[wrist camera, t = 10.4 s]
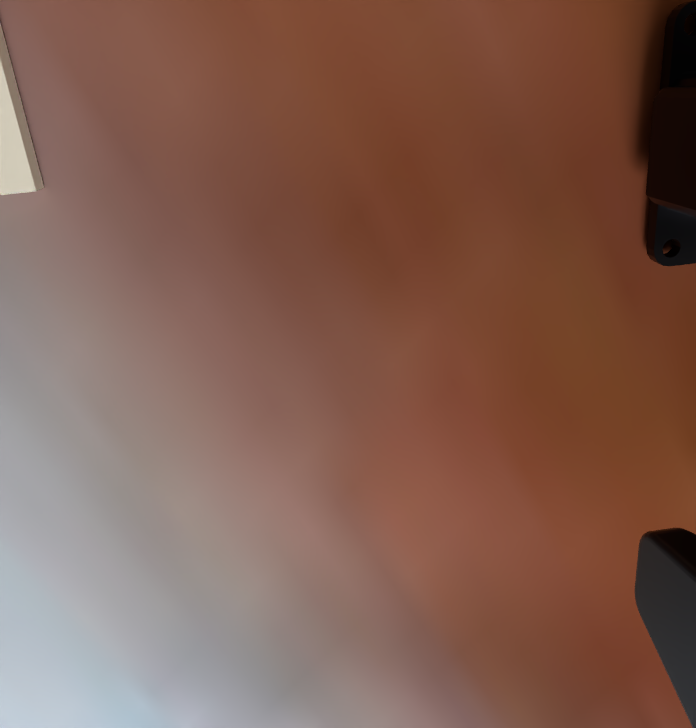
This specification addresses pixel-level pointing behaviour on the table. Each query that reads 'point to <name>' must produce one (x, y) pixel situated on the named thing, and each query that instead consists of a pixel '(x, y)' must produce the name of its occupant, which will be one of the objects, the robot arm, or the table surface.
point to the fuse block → (14, 135)
